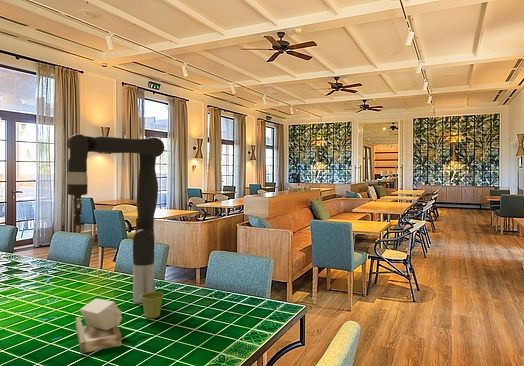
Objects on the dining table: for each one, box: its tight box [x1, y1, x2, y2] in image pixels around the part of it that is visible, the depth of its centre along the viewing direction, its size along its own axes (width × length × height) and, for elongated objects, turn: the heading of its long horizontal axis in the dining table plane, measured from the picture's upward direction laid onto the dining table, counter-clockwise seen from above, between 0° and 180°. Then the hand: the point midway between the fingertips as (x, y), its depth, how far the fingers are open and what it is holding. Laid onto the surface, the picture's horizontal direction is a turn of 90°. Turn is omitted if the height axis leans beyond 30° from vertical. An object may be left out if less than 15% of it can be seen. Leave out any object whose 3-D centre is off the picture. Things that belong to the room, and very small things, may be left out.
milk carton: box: [79, 298, 123, 330], centre depth 144 cm, size 7×7×19 cm
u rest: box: [75, 316, 123, 354], centre depth 140 cm, size 13×24×4 cm, turn 29°
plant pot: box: [140, 291, 165, 319], centre depth 160 cm, size 9×9×9 cm
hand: (77, 225), depth 160 cm, fingers closed
